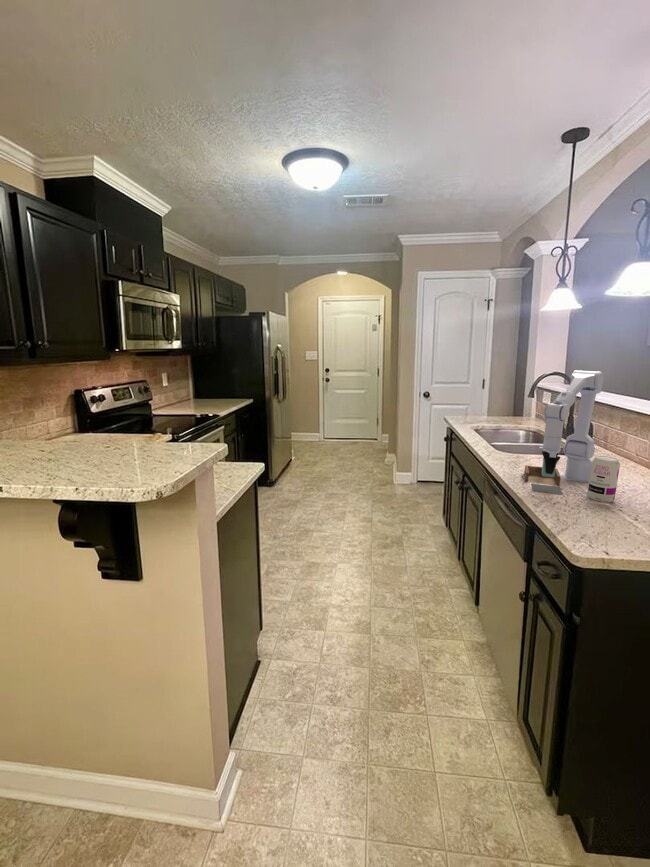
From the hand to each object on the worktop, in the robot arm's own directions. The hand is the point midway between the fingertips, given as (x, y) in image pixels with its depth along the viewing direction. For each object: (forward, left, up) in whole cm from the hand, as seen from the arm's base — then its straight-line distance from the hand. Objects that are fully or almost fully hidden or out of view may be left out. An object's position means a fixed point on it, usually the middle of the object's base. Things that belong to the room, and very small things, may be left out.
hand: (548, 471), depth 160 cm
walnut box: (+1, -13, -7) cm, 15 cm away
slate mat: (0, 0, -7) cm, 7 cm away
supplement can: (-17, +3, -7) cm, 19 cm away
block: (0, 0, -1) cm, 1 cm away
